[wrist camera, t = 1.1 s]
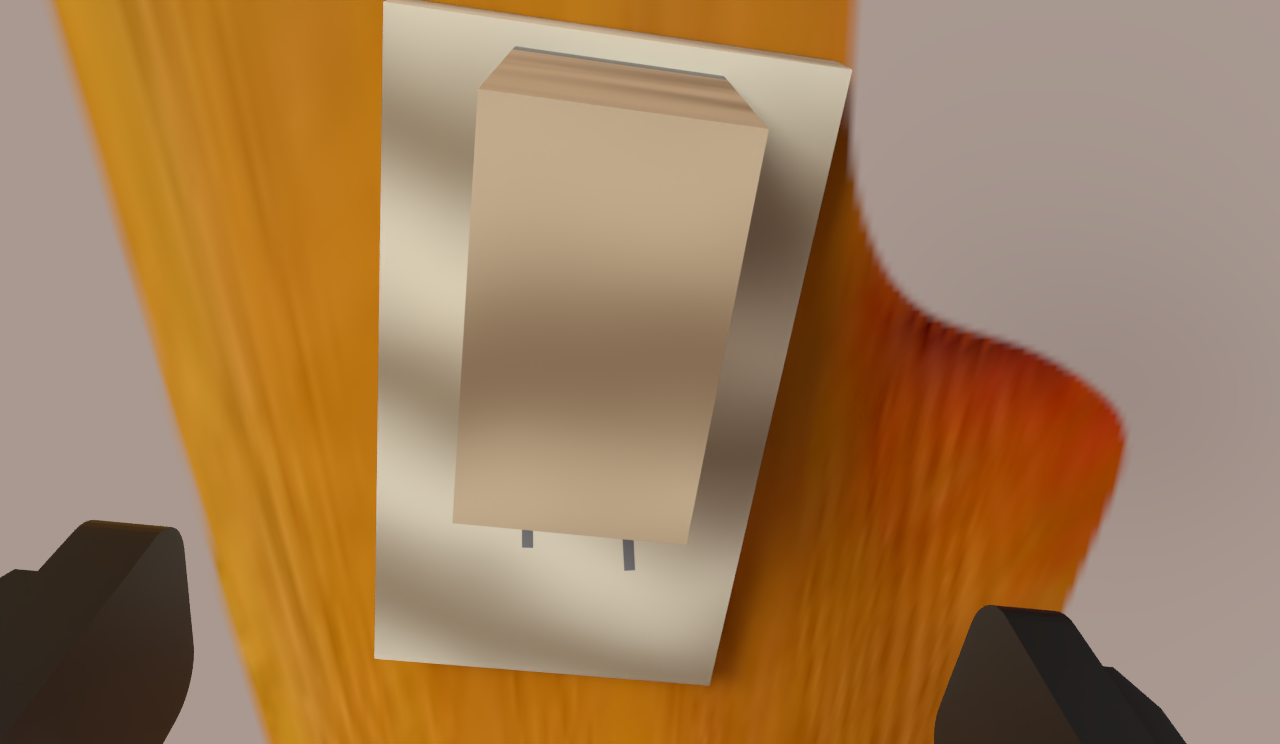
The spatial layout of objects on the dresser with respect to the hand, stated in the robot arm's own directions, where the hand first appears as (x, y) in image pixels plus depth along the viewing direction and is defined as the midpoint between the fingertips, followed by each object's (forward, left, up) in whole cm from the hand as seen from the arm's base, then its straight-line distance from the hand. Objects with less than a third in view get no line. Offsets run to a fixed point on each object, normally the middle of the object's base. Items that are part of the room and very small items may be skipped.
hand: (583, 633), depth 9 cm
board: (+4, 0, -15) cm, 15 cm away
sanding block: (0, 0, -13) cm, 13 cm away
